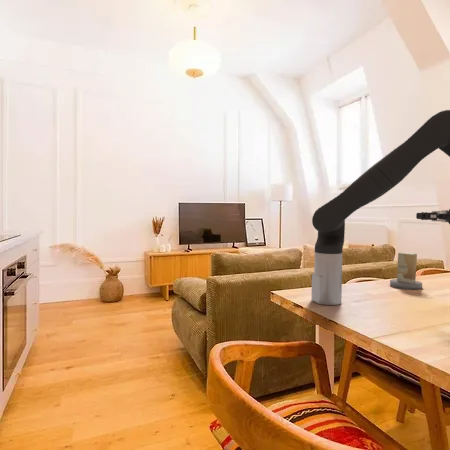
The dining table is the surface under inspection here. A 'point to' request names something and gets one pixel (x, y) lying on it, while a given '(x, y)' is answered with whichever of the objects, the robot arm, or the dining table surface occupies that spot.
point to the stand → (406, 285)
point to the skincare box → (406, 267)
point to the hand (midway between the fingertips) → (427, 215)
